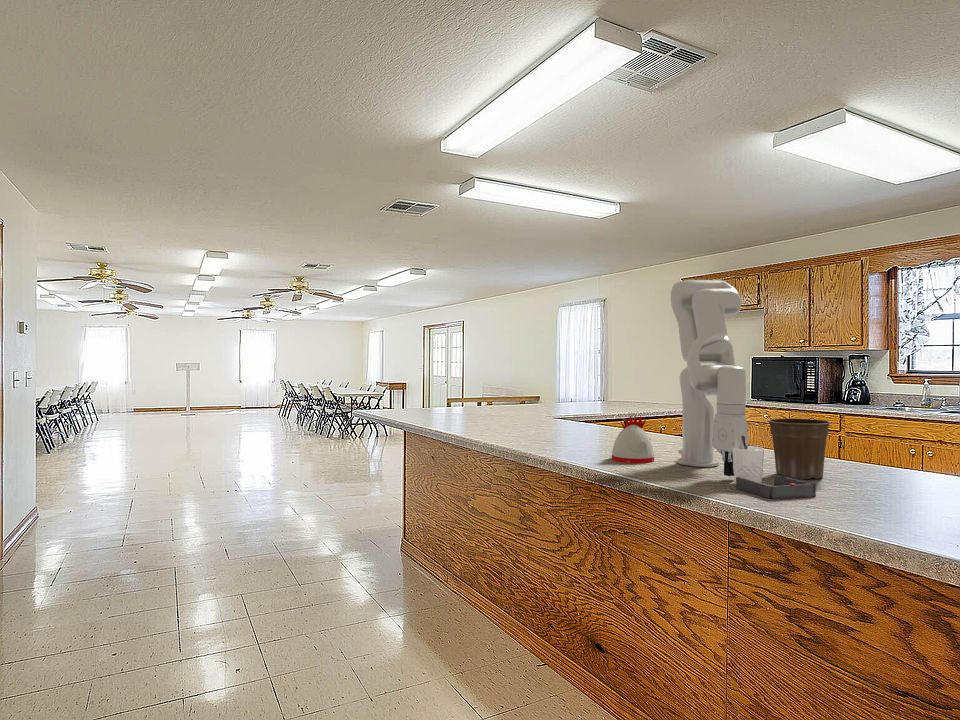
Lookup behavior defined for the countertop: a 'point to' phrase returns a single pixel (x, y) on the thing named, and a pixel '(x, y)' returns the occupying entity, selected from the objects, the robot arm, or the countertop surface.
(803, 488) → the bracket
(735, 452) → the white cup
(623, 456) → the white and red dome
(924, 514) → the countertop surface
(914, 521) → the countertop surface
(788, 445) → the plant pot
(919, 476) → the countertop surface
